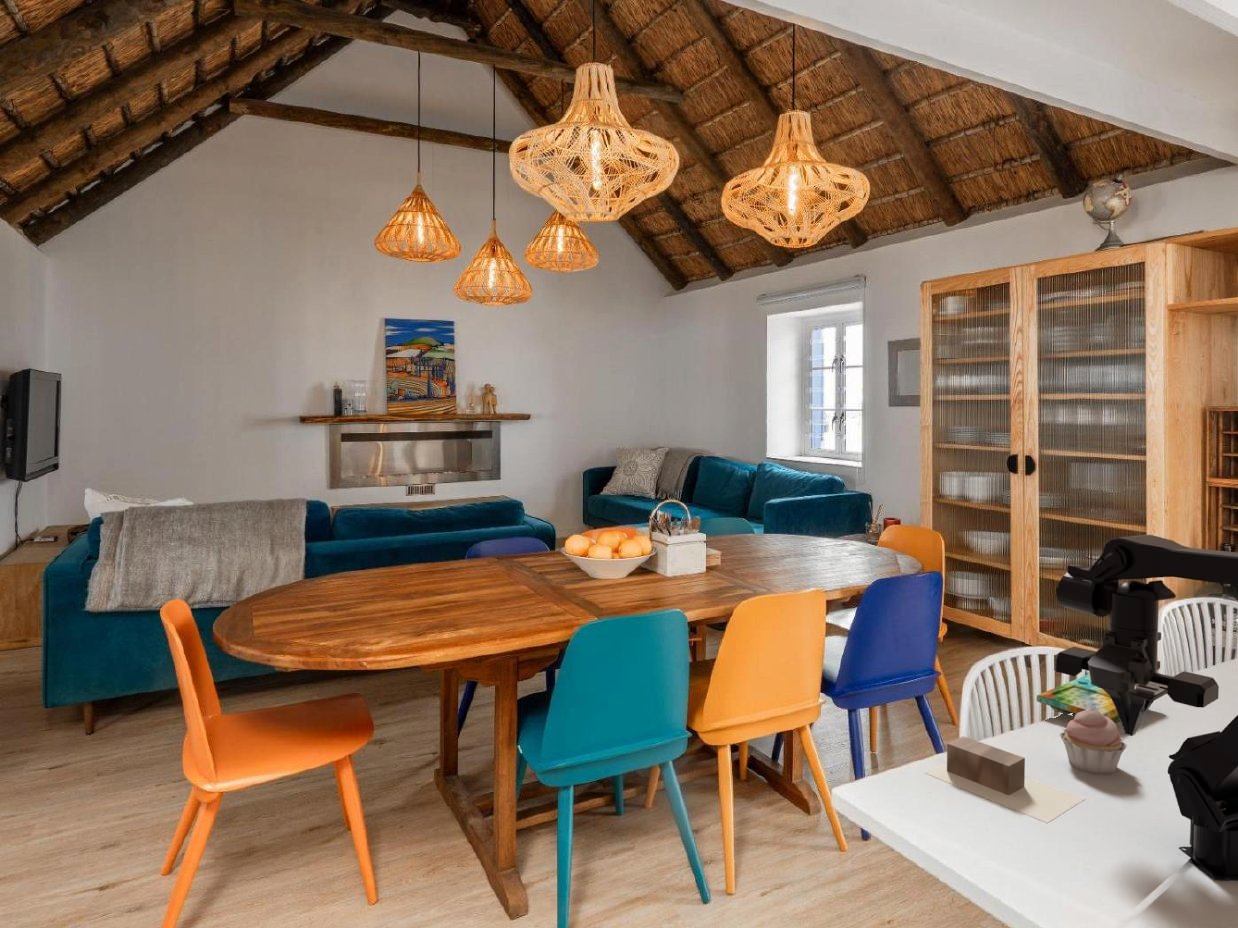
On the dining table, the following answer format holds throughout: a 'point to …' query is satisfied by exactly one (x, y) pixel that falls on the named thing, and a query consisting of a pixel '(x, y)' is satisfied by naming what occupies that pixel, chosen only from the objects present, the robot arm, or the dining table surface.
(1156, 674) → the robot arm
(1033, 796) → the beige mat
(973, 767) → the walnut block
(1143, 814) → the dining table surface
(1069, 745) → the cupcake
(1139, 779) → the dining table surface
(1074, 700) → the puzzle game
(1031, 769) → the dining table surface
